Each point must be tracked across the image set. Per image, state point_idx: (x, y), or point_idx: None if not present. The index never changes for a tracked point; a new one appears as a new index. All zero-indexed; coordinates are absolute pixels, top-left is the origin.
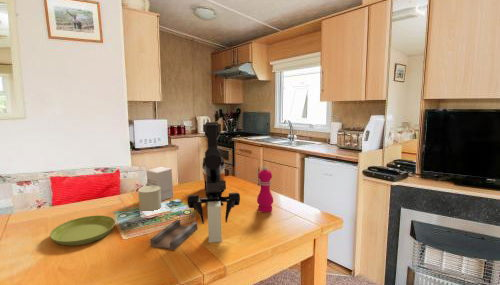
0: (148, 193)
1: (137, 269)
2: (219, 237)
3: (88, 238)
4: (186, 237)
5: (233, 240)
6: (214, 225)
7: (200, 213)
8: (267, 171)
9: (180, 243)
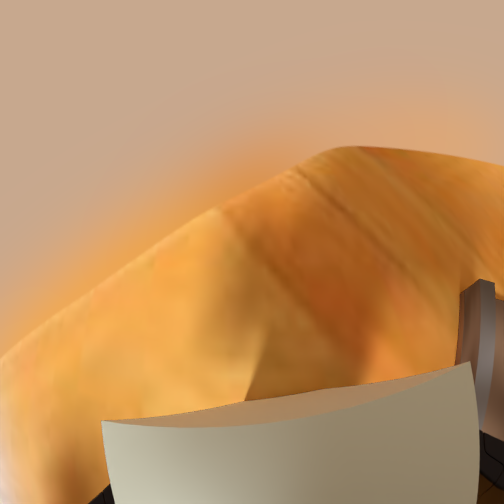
0: None
1: (482, 191)
2: (254, 400)
3: None
4: None
5: (176, 409)
6: (288, 399)
7: (479, 437)
8: None
9: (460, 345)
